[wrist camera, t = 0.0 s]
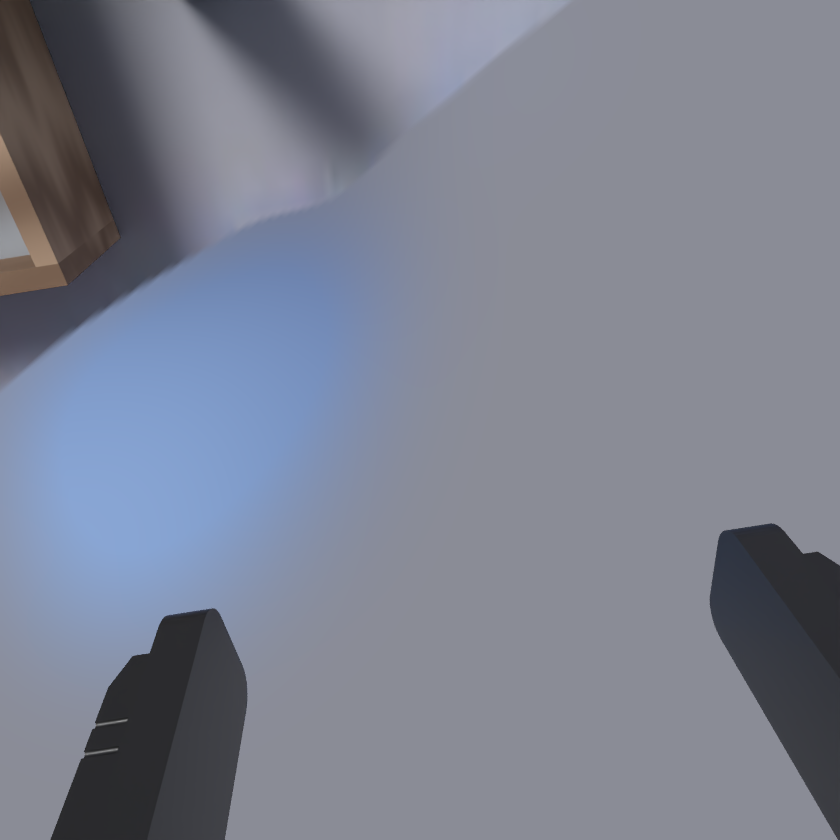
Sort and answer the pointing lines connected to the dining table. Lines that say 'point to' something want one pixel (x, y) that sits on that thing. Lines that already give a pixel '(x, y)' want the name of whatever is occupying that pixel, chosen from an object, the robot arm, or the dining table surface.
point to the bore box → (43, 168)
